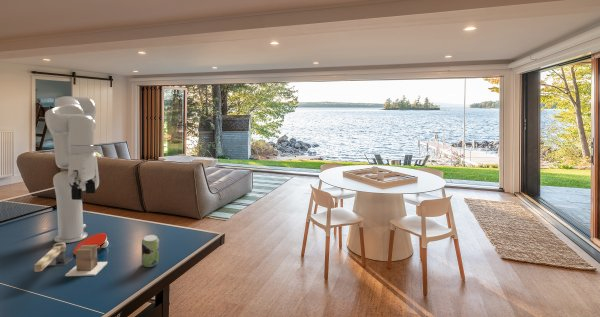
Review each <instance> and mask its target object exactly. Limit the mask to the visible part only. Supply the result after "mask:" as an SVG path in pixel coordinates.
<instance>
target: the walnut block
mask: <svg viewBox="0 0 600 317" xmlns="http://www.w3.org/2000/svg"><path fill="white" fill-rule="evenodd" d="M98 262H99V261H98V244H82V245H80V246H79V247H78V248H77V249H76V250H75V266H76V269H77V271H92V270H93V269H94V268H95V267H96V266H97V265H98Z"/></svg>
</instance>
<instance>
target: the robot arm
mask: <svg viewBox="0 0 600 317" xmlns="http://www.w3.org/2000/svg"><path fill="white" fill-rule="evenodd" d="M96 112H97V106H96V104H95V101H94V100H93V99H92V98H90V97H83V96H71V95H70V96H69V95H67V96H64V95H63V96H61V97H59V98H57V99H56V100H55V102H54V107H53V108H50V109H47V110H46V111H45V113H44V121H45V124H46V127H47V130H48V131H49V133H50V135H51V137H52V140H53V148H54V159H55V165H56V166H57V168H60V169H68V170H67V171H60V172H57V173H56V174H55V175H54V176H53V178H52V182H53V183H52V184H53V187H54V191H55V193H54V194H55V198H56V212H57V214H56V215H57V232H58V234H57V235H56V236H55V237H54V242H56V243H67V244H68V243H69V244H70V243H75V242H79V241H82V240H85V239H86V238H87V237H88V232H87V231H84V229H85V228H86V227H87V225H86V223H84V216H83V214H84V213H83V192H84V191H85V193H86V194H96V190H97V188H99V185H100V176H99V175H100V174H99V166H98V157H97V153H96V150H95V132H94V131H95V130H96V121H95V116H96Z"/></svg>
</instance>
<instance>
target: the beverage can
mask: <svg viewBox="0 0 600 317" xmlns="http://www.w3.org/2000/svg"><path fill="white" fill-rule="evenodd" d="M159 246H160V239H159V238H158V236H157V235H156V234H147V235H145V236H144V237H143V239H142V241H141V265H142V266H143V267H146V268H151V267H152V268H153V267H155V266H156V265H157V264H158V263H159V260H160V259H159V257H160V256H159V252H160V248H159Z"/></svg>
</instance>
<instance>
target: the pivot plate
mask: <svg viewBox="0 0 600 317" xmlns="http://www.w3.org/2000/svg"><path fill="white" fill-rule="evenodd" d="M72 260H73V257H66V258H65V260H64V261H62V262H56V258H54V259H53V260H52V261H51V262H50V263H49V264H48V265H47V266H48V267H51V266H52V267H53V266H54V267H55V266H57V267H59V266H61V267H62V266H65V265H67V264H68V263H69V262H71V261H72ZM47 266H46V267H47Z"/></svg>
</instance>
